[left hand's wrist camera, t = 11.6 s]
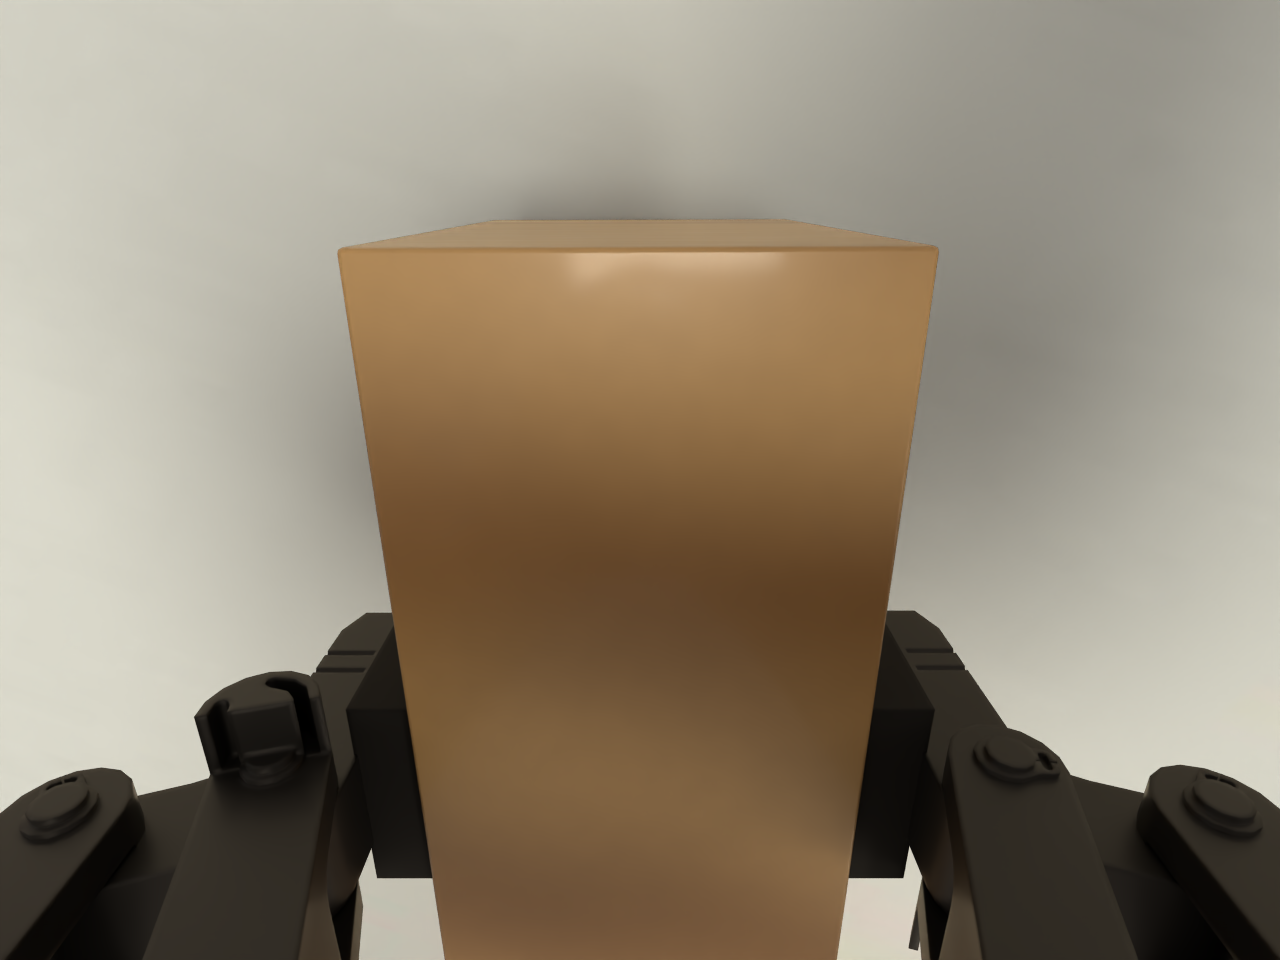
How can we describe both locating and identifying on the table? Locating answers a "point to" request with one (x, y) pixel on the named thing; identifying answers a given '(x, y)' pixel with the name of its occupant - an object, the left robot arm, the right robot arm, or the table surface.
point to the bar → (639, 566)
